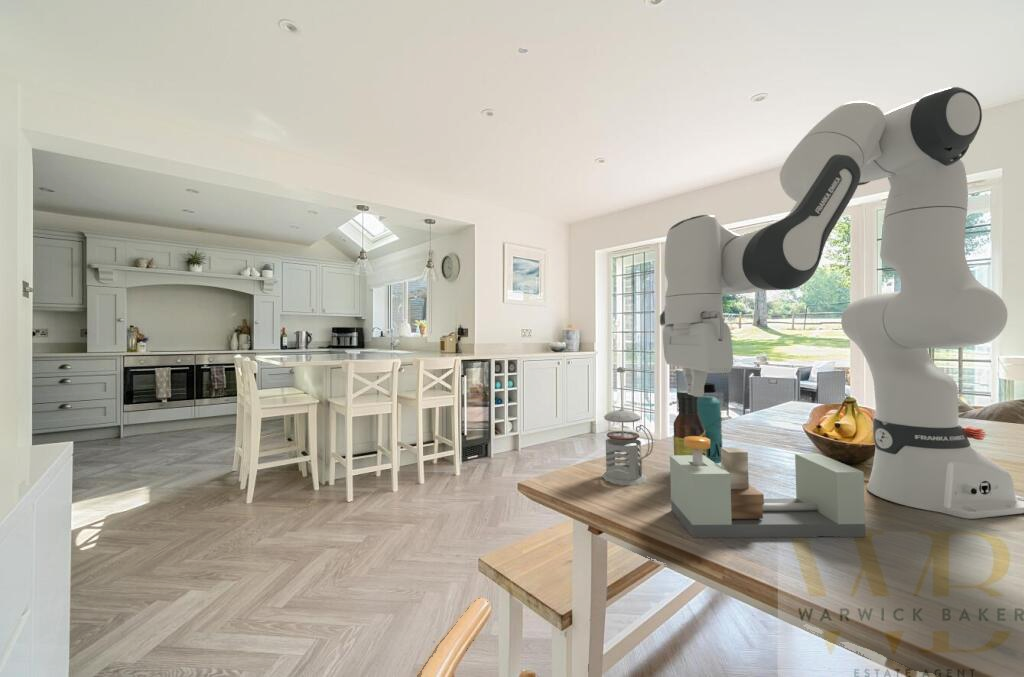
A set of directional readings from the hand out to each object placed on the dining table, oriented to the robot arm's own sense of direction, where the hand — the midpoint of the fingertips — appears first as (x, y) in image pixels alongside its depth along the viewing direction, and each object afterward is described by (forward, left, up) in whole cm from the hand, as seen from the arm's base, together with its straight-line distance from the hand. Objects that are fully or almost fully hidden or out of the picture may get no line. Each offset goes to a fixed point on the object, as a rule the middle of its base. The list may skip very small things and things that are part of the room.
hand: (695, 395), depth 69 cm
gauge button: (0, 0, -14) cm, 14 cm away
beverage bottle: (-14, -30, -22) cm, 40 cm away
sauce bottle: (-5, -17, -22) cm, 28 cm away
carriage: (-6, 0, -19) cm, 20 cm away
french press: (+7, -22, -22) cm, 32 cm away
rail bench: (-10, 0, -22) cm, 24 cm away
